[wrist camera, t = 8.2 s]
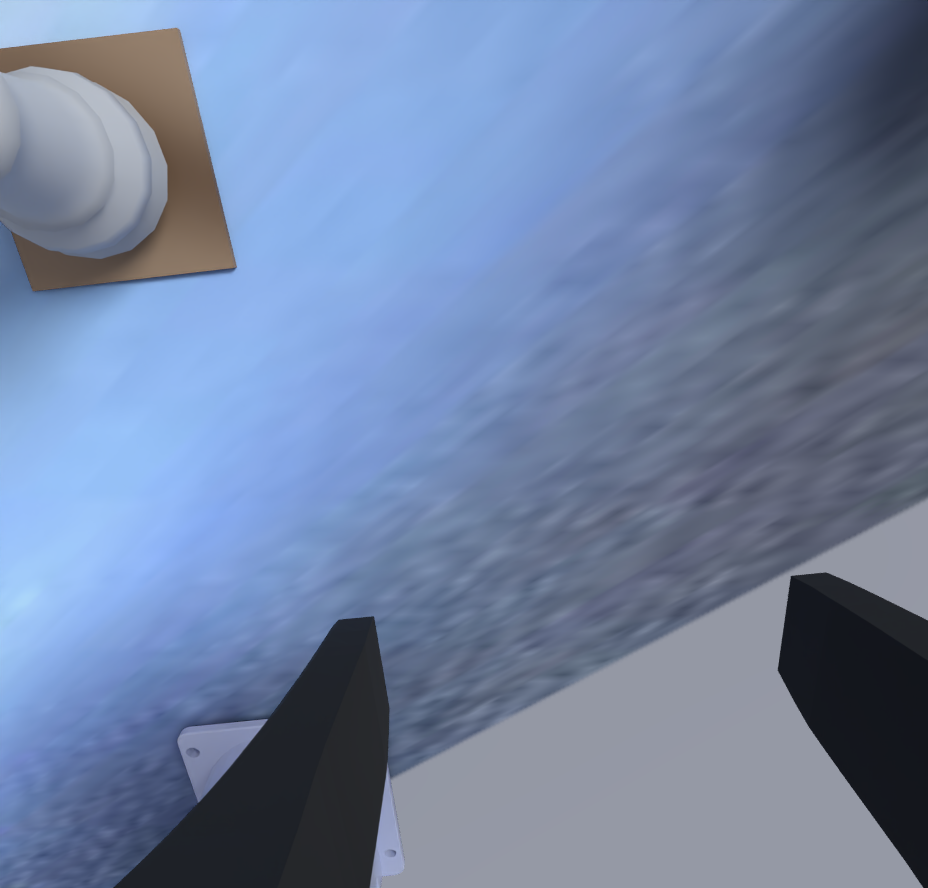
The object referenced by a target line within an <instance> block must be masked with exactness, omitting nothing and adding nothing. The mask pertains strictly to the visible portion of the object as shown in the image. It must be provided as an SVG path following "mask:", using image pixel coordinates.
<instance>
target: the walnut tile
mask: <svg viewBox="0 0 928 888" xmlns="http://www.w3.org/2000/svg"><path fill="white" fill-rule="evenodd" d="M30 66H33V67H41V68H48V69H54V70H61V71H67V72H74V73H78V74H80V75H81V76H83V77H85V78H87V79H88V80H90V81H92V82H95V83H97V84H99V85H101V86H102V87H104V88H106V89H108V90H109V91H111V92H113V93H115V94H116V95H118V96H120V97H122V98H123V99H125V100H127V101H129V103H130V104H131V105H132V106H133V107H134V108H135V110H136V111H137V112H138V113H139V114H140V115H141V116H142V118H143V119H144V120H145V121H146V122H147V123H148V125H149V126H150V127H151V128H152V129H153V130H154V132H155V135H156V138H157V140H158V143H159V145H160V148H161V150H162V153H163V156H164V158H165V161H166V163H167V202H166V205H165V207H164V209H163V212H162V214H161V216H160V219H159V221H158V223H157V226H156V228H155V230H154V231H153V232H151V233H150V234H149V235H148V236H147V237H146V238H145V239H143V240H142V241H141V242H140V243H139V244H138V245H137V246H135V247H134V248H133V249H132V250H130V251H127V252H123V253H120V254H116V255H113V256H109V257H106V258H103V259H95V258H87V257H78V256H70V255H65V254H63V253H61V252H59V251H51V250H47V249H45V248H43V247H41V246H39V245H37V244H35V243H33V242H31V241H29V240H27V239H25V238H23V237H21V236H19V235H17V234H15V233H14V232H12V231H11V233H12V235H13V238H14V241H15V244H16V246H17V249H18V252H19V255H20V257H21V260H22V263H23V266H24V268H25V271H26V274H27V277H28V279H29V282H30V285H31V288H32V290H33V291H40V290H49V289H57V288H66V287H74V286H83V285H91V284H100V283H109V282H117V281H126V280H134V279H143V278H151V277H160V276H168V275H177V274H185V273H194V272H202V271H211V270H220V269H228V268H236V267H237V266H236V262H235V257H234V253H233V249H232V245H231V241H230V237H229V232H228V228H227V224H226V220H225V216H224V212H223V207H222V203H221V199H220V195H219V191H218V187H217V182H216V178H215V174H214V170H213V166H212V162H211V157H210V153H209V149H208V145H207V141H206V137H205V133H204V128H203V124H202V120H201V116H200V112H199V108H198V103H197V99H196V95H195V91H194V87H193V83H192V78H191V74H190V70H189V66H188V62H187V58H186V53H185V49H184V45H183V41H182V37H181V33H180V30H179V29H178V28H172V29H163V30H155V31H146V32H138V33H129V34H121V35H112V36H104V37H95V38H87V39H78V40H70V41H61V42H53V43H44V44H36V45H27V46H19V47H10V48H2V49H0V72H2V73H8V72H12V71H16V70H19V69H23V68H26V67H30Z"/></svg>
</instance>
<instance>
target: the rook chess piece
mask: <svg viewBox="0 0 928 888" xmlns="http://www.w3.org/2000/svg"><path fill="white" fill-rule="evenodd" d="M166 202H167V163H166V161H165V158H164V156H163V153H162V150H161V148H160V145H159V143H158V140H157V138H156V135H155V132H154V130H153V129H152V128H151V127H150V126H149V125H148V123H147V122H146V121H145V120H144V119H143V118H142V116H141V115H140V114H139V113H138V112H137V111H136V110H135V108H134V107H133V106H132V105H131V104H130V103H129V101H127V100H125V99H123V98H122V97H120V96H118V95H116V94H115V93H113V92H111V91H109V90H108V89H106V88H104V87H102V86H101V85H99V84H97V83H95V82H92V81H90V80H88V79H87V78H85V77H83V76H81V75H80V74H78V73H74V72H67V71H61V70H54V69H48V68H41V67H33V66H30V67H26V68H23V69H19V70H16V71H12V72H8V73H2V72H0V221H1V222H2V223H3V224H4V225H5V226H6V227H7V228H8V229H9V230H11V231H12V232H14V233H15V234H17V235H19V236H21V237H23V238H25V239H27V240H29V241H31V242H33V243H35V244H37V245H39V246H41V247H43V248H45V249H47V250H51V251H59V252H61V253H63V254H65V255H70V256H78V257H87V258H95V259H103V258H106V257H109V256H113V255H116V254H120V253H123V252H127V251H130V250H132V249H133V248H134V247H135V246H137V245H138V244H139V243H140V242H141V241H142V240H143V239H145V238H146V237H147V236H148V235H149V234H150V233H151V232H153V231H154V230H155V228H156V226H157V223H158V221H159V219H160V216H161V214H162V212H163V209H164V207H165V205H166Z"/></svg>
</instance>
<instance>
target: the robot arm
mask: <svg viewBox="0 0 928 888" xmlns="http://www.w3.org/2000/svg"><path fill="white" fill-rule="evenodd" d="M778 671H779V673H780V675H781V677H782V679H783V681H784V683H785V685H786V687H787V688H788V690H789V692H790V694H791V696H792V698H793V700H794V702H795V704H796V705H797V707H798V709H799V711H800V712H801V714H802V716H803V718H804V719H805V721H806V723H807V724H808V726H809V728H810V729H811V731H812V732H813V734H814V735H815V736H816V738H817V739H818V741H819V742H820V744H821V745H822V746H823V748H824V749H825V751H826V752H827V753H828V755H829V756H830V757H831V759H832V760H833V762H834V763H835V765H836V766H837V767H838V769H839V770H840V772H841V773H842V774H843V776H844V777H845V779H846V780H847V781H848V783H849V784H850V786H851V787H852V788H853V790H854V791H855V792H856V794H857V795H858V797H859V798H860V799H861V801H862V802H863V803H864V805H865V806H866V808H867V809H868V810H869V811H870V813H871V814H872V816H873V817H874V818H875V820H876V821H877V823H878V824H879V825H880V827H881V828H882V830H883V831H884V832H885V834H886V835H887V836H888V838H889V839H890V841H891V842H892V843H893V845H894V846H895V848H896V849H897V850H898V851H899V853H900V854H901V856H902V857H903V859H904V860H905V861H906V863H907V864H908V866H909V867H910V869H911V870H912V872H913V873H914V875H915V876H916V878H917V879H918V880H919V882H920V883H921V885H922V886H923V888H928V620H926V619H924V618H922V617H920V616H918V615H916V614H913V613H911V612H909V611H907V610H905V609H903V608H901V607H899V606H897V605H895V604H893V603H891V602H889V601H887V600H885V599H883V598H881V597H879V596H877V595H875V594H873V593H870V592H868V591H867V590H865V589H862V588H860V587H858V586H856V585H854V584H852V583H850V582H847V581H845V580H843V579H840V578H838V577H836V576H833V575H831V574H829V573H816V574H806V575H796V576H791V580H790V587H789V594H788V601H787V608H786V615H785V623H784V629H783V637H782V644H781V651H780V658H779V666H778ZM388 737H389V703H388V697H387V691H386V685H385V679H384V673H383V667H382V661H381V656H380V650H379V644H378V638H377V632H376V626H375V620H374V616H373V617H363V618H352V619H342V620H338V621H337V622H336V623H335V624H334V625H333V627H332V628H331V630H330V631H329V633H328V634H327V636H326V637H325V639H324V641H323V642H322V644H321V645H320V647H319V648H318V650H317V651H316V653H315V654H314V656H313V657H312V659H311V660H310V662H309V663H308V665H307V666H306V667H305V669H304V670H303V672H302V673H301V675H300V676H299V678H298V679H297V681H296V682H295V683H294V685H293V686H292V687H291V689H290V690H289V692H288V693H287V694H286V696H285V697H284V698H283V700H282V701H281V703H280V704H279V705H278V707H277V708H276V709H275V711H274V712H273V713H272V715H271V716H270V717H269V719H263V720H253V721H243V722H233V723H222V724H212V725H202V726H192V727H187V728H185V729H183V730H182V731H181V733H180V735H179V737H178V739H177V742H178V746H179V749H180V752H181V755H182V758H183V761H184V763H185V766H186V769H187V772H188V775H189V778H190V781H191V783H192V786H193V789H194V792H195V795H196V798H197V801H198V804H197V805H196V806H195V807H194V808H193V809H192V810H191V811H190V812H189V813H188V814H187V816H186V817H185V818H184V819H183V820H182V821H181V822H180V823H179V824H178V825H177V826H176V827H175V828H174V829H173V830H172V831H171V832H170V834H169V835H168V836H167V837H166V838H165V839H163V840H162V841H161V842H160V843H159V844H158V845H157V846H156V847H155V848H154V849H153V850H152V851H151V852H150V853H149V854H148V855H147V856H146V857H145V858H144V859H143V860H142V861H141V862H140V863H139V864H138V865H137V866H136V867H135V868H134V869H133V870H132V871H131V872H130V873H129V874H128V875H126V876H125V877H124V878H123V879H122V880H121V881H120V882H119V883H118V884H117V885H116V886H115V887H114V888H381V882H382V876H391V875H397V874H399V873H401V872H402V871H403V870H404V862H405V859H404V853H403V847H402V842H401V837H400V830H399V825H398V819H397V814H396V808H395V802H394V797H393V791H392V786H391V780H390V774H389V768H388V763H387V760H388ZM194 748H196V749H194Z"/></svg>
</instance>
